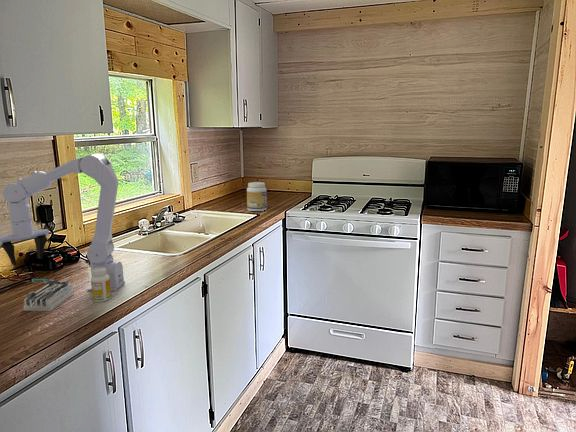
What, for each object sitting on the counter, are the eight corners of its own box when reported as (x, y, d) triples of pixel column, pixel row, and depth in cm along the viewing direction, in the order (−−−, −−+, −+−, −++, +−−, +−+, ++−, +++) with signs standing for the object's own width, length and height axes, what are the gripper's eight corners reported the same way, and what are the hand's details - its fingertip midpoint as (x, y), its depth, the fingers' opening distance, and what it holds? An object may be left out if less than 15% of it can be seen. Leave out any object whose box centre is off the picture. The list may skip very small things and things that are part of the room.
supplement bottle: (107, 294, 140) (104, 265, 138) (114, 299, 136) (111, 269, 134) (90, 298, 136) (87, 269, 134) (96, 303, 132) (93, 273, 130)
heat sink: (49, 293, 141) (47, 279, 139) (73, 293, 140) (72, 279, 139) (23, 310, 128) (21, 295, 127) (50, 311, 127) (48, 295, 126)
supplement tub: (266, 212, 262) (266, 184, 259) (246, 212, 262) (245, 184, 258) (267, 208, 274) (266, 181, 271) (247, 208, 274) (247, 181, 270)
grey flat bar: (53, 284, 139) (53, 281, 139) (65, 284, 139) (65, 281, 139) (31, 281, 128) (32, 278, 128) (45, 282, 128) (45, 279, 128)
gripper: (40, 214, 146) (46, 253, 149) (-10, 222, 135) (-3, 264, 138) (49, 217, 141) (54, 257, 144) (-3, 226, 130) (4, 269, 133)
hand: (27, 261), depth 141 cm, fingers open, 7 cm apart
